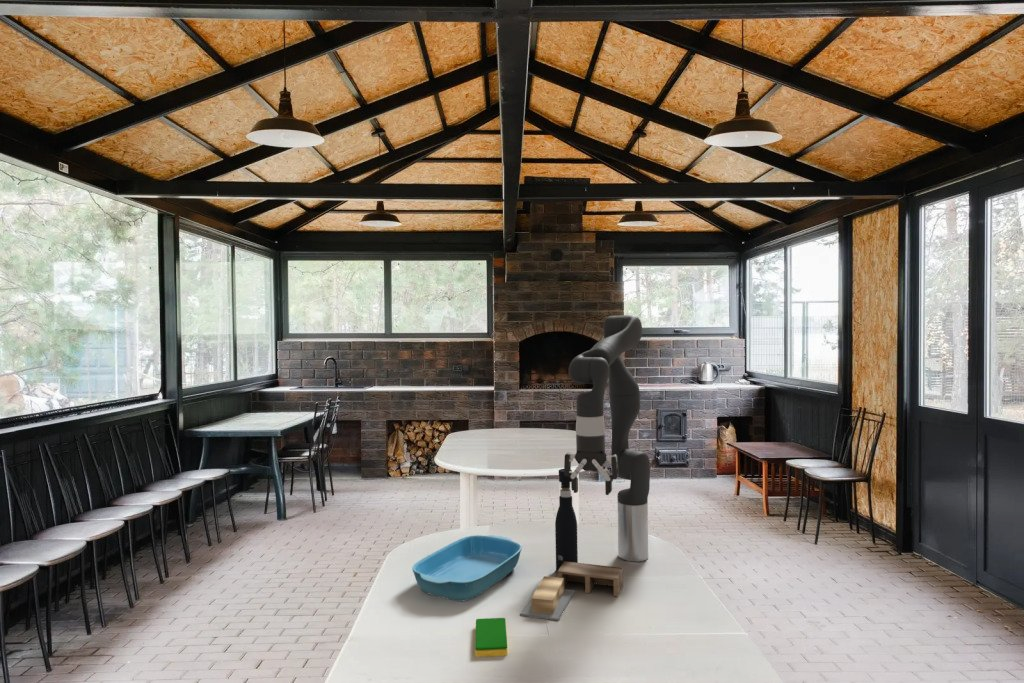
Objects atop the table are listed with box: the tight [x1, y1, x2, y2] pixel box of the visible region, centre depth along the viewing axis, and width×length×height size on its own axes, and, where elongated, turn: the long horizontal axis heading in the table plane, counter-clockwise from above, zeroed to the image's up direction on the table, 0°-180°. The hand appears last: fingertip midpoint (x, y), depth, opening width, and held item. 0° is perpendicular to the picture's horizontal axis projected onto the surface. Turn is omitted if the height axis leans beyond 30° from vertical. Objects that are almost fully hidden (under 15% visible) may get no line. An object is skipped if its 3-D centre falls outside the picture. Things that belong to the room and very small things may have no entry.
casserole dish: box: [411, 534, 523, 602], centre depth 179 cm, size 37×22×7 cm, turn 150°
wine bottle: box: [554, 468, 579, 574], centre depth 183 cm, size 6×6×30 cm
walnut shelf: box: [557, 561, 624, 598], centre depth 171 cm, size 7×17×5 cm, turn 71°
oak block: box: [531, 576, 565, 614], centre depth 163 cm, size 14×6×4 cm, turn 164°
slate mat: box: [519, 588, 575, 622], centre depth 162 cm, size 17×10×1 cm, turn 161°
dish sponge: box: [474, 617, 508, 658], centre depth 144 cm, size 7×14×2 cm, turn 2°
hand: (591, 493), depth 165 cm, fingers open, 8 cm apart
